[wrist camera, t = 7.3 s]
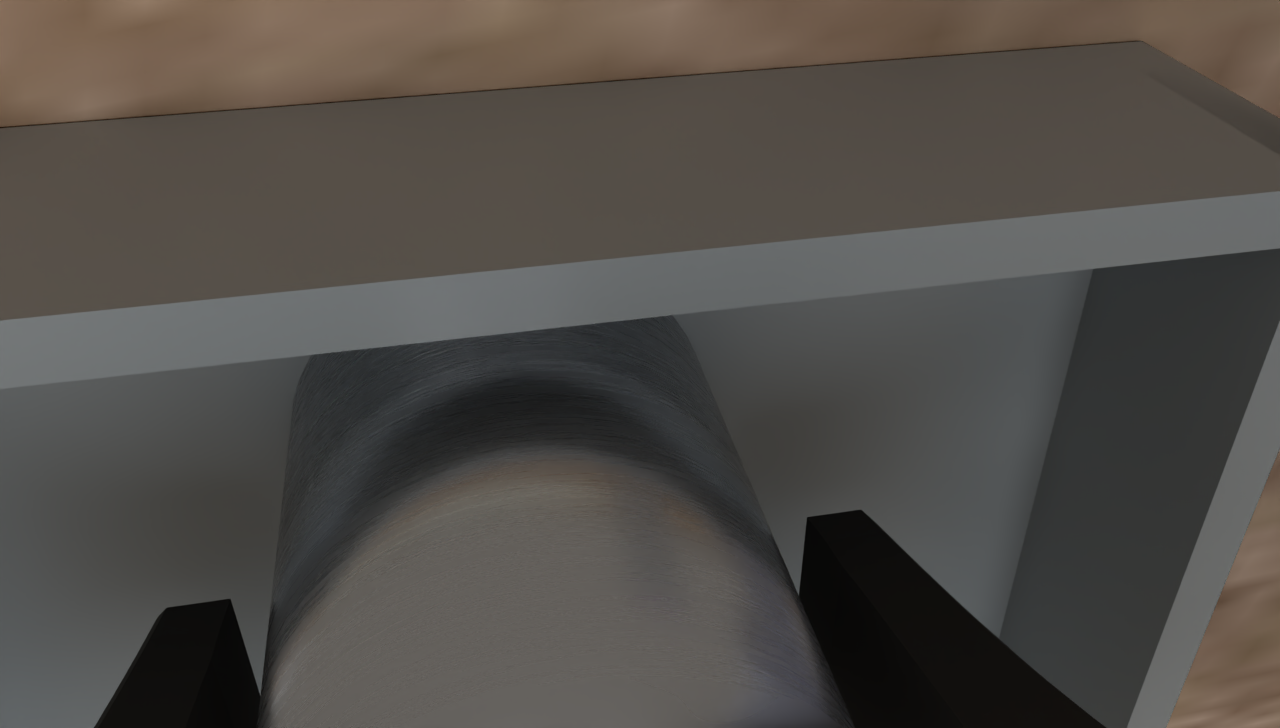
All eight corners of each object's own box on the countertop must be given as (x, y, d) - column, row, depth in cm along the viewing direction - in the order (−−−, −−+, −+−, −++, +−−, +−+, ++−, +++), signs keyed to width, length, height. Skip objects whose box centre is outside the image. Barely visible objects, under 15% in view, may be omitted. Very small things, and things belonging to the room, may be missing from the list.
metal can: (698, 217, 12) (907, 613, 7) (711, 543, 15) (867, 984, 10) (239, 287, 12) (138, 767, 7) (342, 612, 15) (324, 1114, 10)
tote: (1142, 40, 13) (1388, 179, 10) (945, 826, 22) (1041, 1032, 19) (-347, 154, 11) (-660, 387, 8) (109, 984, 20) (56, 1253, 17)
